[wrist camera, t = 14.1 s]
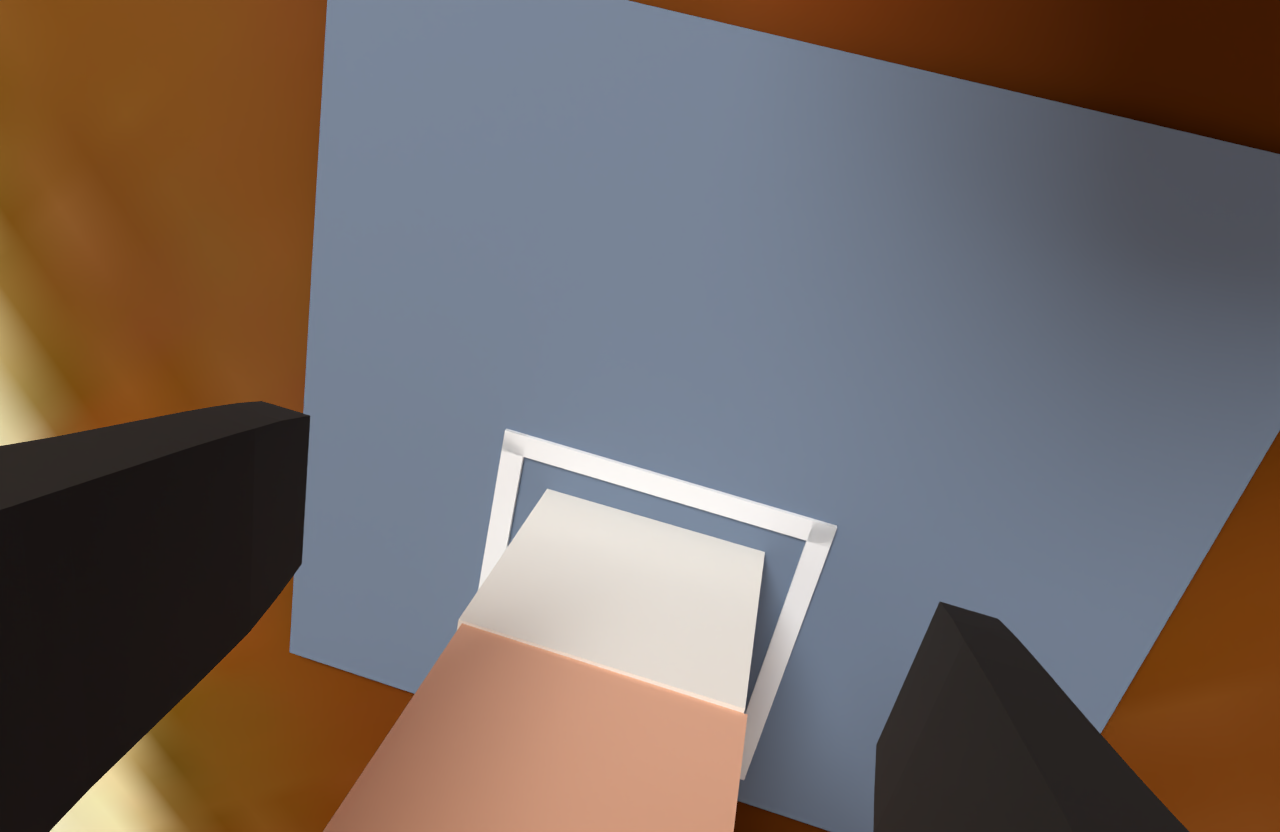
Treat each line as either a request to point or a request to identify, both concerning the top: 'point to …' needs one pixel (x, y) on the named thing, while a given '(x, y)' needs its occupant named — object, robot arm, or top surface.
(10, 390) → the top surface
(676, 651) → the offwhite block
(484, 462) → the mat
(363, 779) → the terracotta block
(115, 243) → the top surface
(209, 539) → the robot arm
